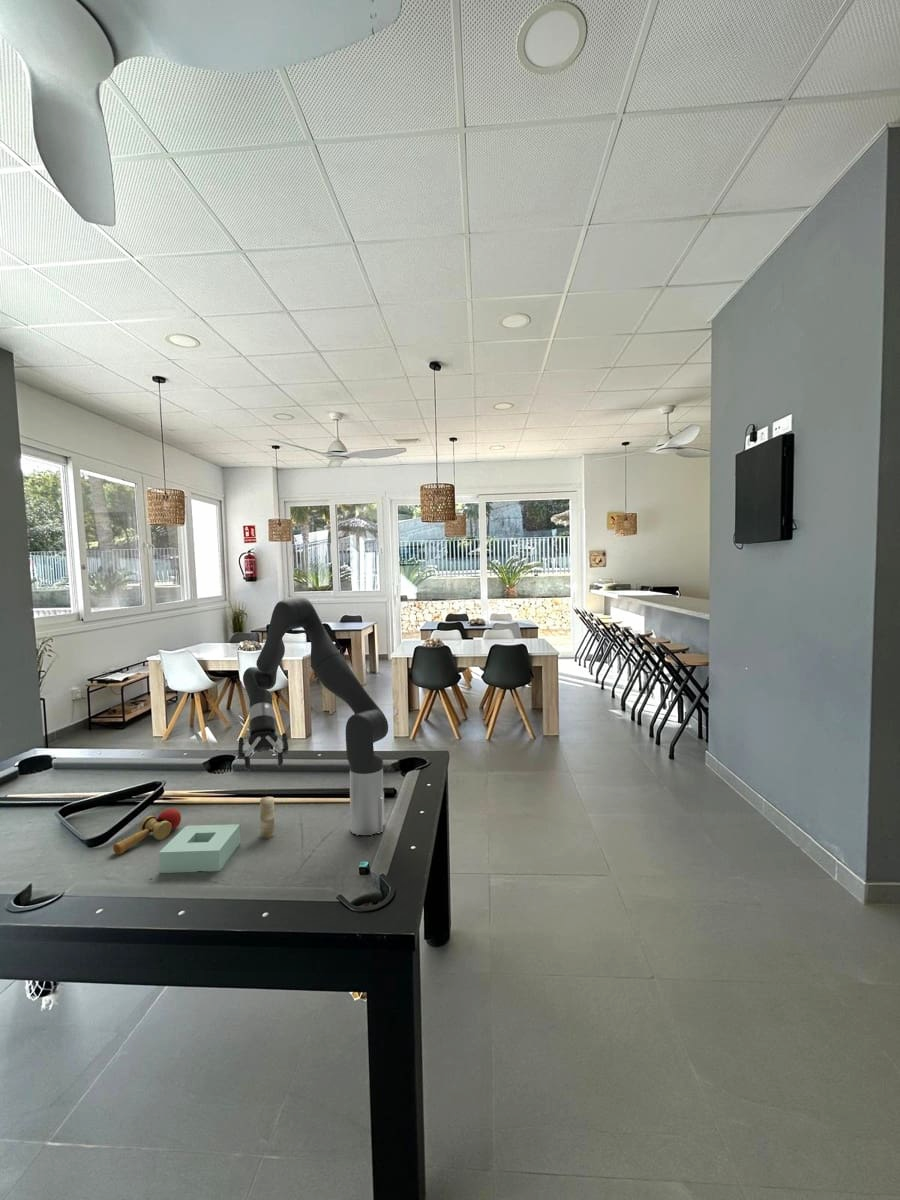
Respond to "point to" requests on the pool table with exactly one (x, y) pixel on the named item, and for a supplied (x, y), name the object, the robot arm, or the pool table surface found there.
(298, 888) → the pool table surface
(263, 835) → the pin
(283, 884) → the pool table surface
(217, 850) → the socket block
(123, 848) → the kendama
